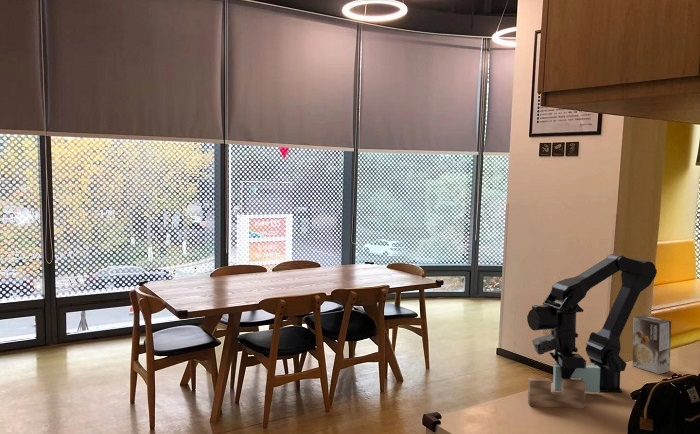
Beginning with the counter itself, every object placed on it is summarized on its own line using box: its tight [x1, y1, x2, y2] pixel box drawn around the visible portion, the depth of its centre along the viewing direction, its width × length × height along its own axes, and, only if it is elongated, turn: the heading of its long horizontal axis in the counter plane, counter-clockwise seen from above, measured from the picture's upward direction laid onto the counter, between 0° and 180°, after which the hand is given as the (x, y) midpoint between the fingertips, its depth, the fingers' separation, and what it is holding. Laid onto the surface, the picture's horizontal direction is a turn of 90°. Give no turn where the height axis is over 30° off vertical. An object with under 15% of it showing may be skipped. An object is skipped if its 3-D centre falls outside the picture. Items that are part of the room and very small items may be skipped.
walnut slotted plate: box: [527, 377, 586, 409], centre depth 143 cm, size 14×2×7 cm, turn 84°
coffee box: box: [632, 314, 672, 375], centre depth 171 cm, size 9×6×16 cm
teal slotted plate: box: [552, 363, 600, 394], centre depth 152 cm, size 12×2×7 cm, turn 84°
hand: (563, 382), depth 152 cm, fingers closed on teal slotted plate, 2 cm apart
